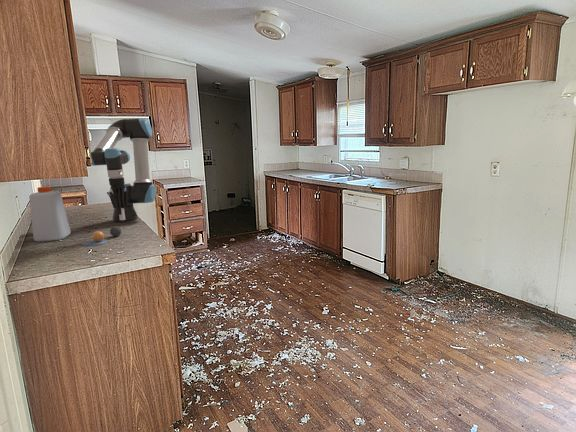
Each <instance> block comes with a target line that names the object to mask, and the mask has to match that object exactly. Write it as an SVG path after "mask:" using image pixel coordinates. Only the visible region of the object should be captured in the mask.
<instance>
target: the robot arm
mask: <svg viewBox="0 0 576 432" xmlns="http://www.w3.org/2000/svg"><path fill="white" fill-rule="evenodd" d="M151 125H152V124H151V123H150V121H149V120H148V119H147V118H140V117H138V118H122V119H121V118H120V119H119V120H117V121H114V122H113V123H111V125H109V126H108V127H107V129H106V131H105V134H104V136H103V137H102V138H101V140H100V141H99V143H98V144H97V145H96V147H95V148H94V149H93V151H90V152H91V159H92V165H91V166H106V171H107V172H106V173H107V177H108V183H109V186H110V189H109V191H107V192H106V194H107V196H108V197H109V199H110V202H111V206H112V208H113V213H112V217H111V218H112V222H113V223H114V222H115V223H123V222H125V223H126V222H131V221H135V220H137V219H139V217H138V214H137V211H136V209H135V207H134V204H149V203H153V202H154V201H155V199H156V198H157V197H156V196H157V187H156V185H155V184H153V181H152V180H151V178H150V177H151V176H150V163H149V149H148V147H149V146H148V142H149V141H150V138H151V137H153V129H152V126H151ZM125 138H126V139H127V138H128V139H129V140H130V141H131V142H132V146H133V147H132V149H133V163H134V174H135V175H134V176H135V180H134V181H133V182H132V184H133V185H131V183H125V178H124V169H123V165H125V164H128V162H129V161H130V159H131V156H130V153H129V152H128V151H127V150H124V149H123V150H122V149H121V150H120V148H118V147H115V146H116V144H117V143H118V141H121V140H122V139H125Z"/></svg>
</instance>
